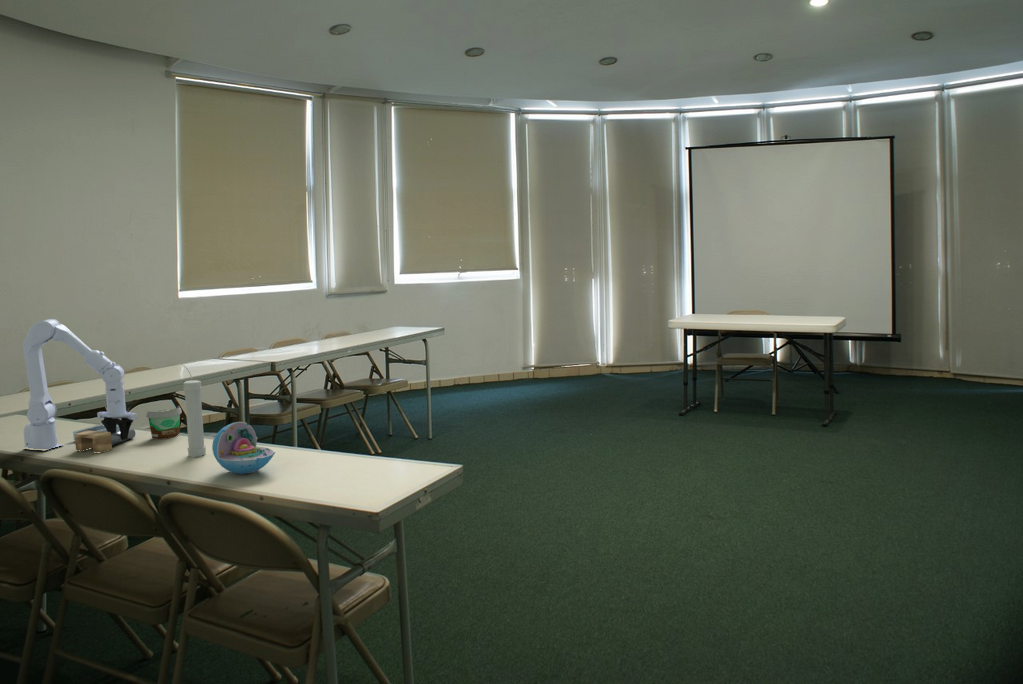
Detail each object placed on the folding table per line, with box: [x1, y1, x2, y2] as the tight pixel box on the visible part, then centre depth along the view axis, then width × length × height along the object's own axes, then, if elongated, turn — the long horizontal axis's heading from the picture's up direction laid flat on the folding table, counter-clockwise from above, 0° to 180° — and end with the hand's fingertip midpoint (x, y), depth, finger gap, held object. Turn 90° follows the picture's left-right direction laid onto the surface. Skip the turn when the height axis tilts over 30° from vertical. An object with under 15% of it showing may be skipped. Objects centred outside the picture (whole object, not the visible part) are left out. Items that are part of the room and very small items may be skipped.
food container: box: [146, 405, 182, 440], centre depth 263 cm, size 12×6×10 cm, turn 143°
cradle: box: [72, 423, 120, 441], centre depth 264 cm, size 9×14×4 cm, turn 163°
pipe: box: [180, 363, 206, 458], centre depth 237 cm, size 6×6×30 cm
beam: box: [74, 431, 113, 453], centre depth 246 cm, size 10×5×6 cm, turn 73°
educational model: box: [211, 421, 276, 475], centre depth 218 cm, size 16×19×15 cm
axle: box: [111, 427, 136, 446], centre depth 256 cm, size 4×12×4 cm, turn 167°
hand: (118, 438), depth 256 cm, fingers closed on axle, 4 cm apart
